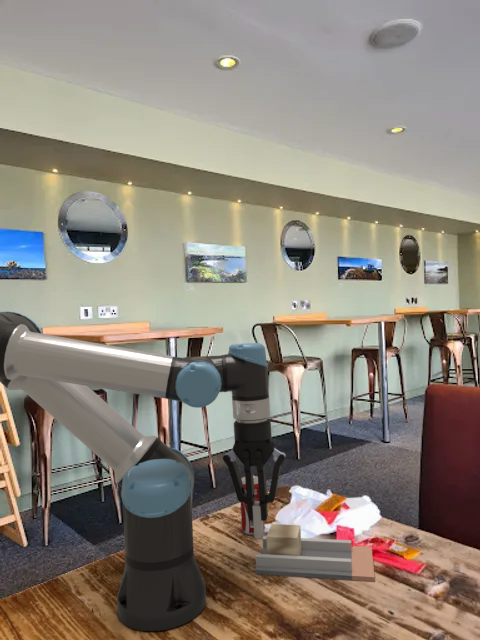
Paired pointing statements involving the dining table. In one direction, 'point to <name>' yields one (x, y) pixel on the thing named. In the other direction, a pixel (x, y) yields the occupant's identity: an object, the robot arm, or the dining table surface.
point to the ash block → (284, 540)
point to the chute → (320, 561)
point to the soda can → (246, 523)
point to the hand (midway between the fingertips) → (259, 535)
